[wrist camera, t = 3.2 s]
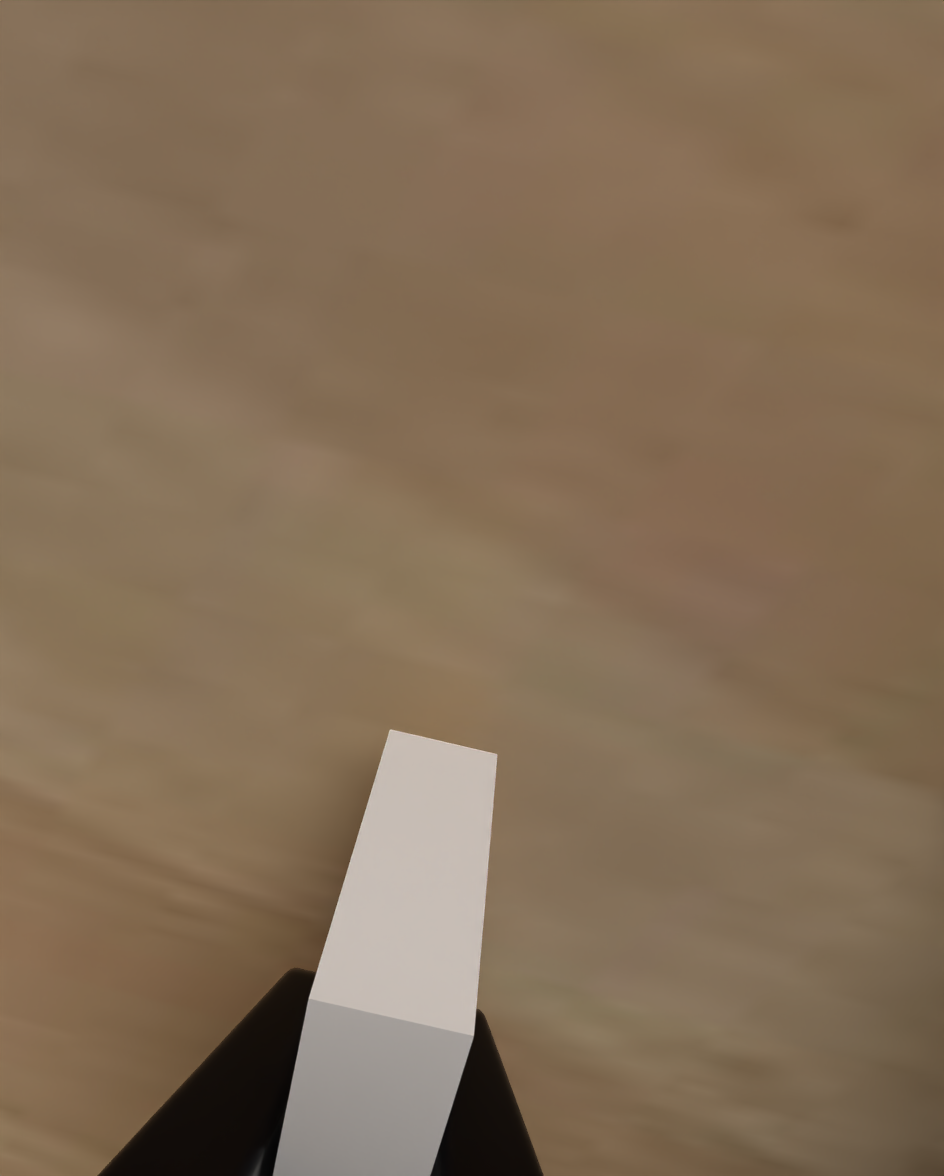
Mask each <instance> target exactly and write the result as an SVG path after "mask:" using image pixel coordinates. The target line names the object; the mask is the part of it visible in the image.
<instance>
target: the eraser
mask: <svg viewBox="0 0 944 1176" xmlns="http://www.w3.org/2000/svg"><path fill="white" fill-rule="evenodd" d="M497 755H498V754H495V753H491V752H486V751H482V750H478V749H473V748H469V747H465V746H461V745H456V744H452V743H448V742H443V741H439V740H435V739H430V738H426V737H422V736H417V735H413V734H409V733H404V732H400V731H396V730H391V729H390V731H389V734H388V737H387V741H386V744H385V747H384V751H383V754H382V757H381V761H380V764H379V767H378V770H377V774H376V777H375V780H374V784H373V787H372V790H371V794H370V797H369V800H368V804H367V807H366V810H365V814H364V817H363V820H362V823H361V827H360V830H359V833H358V837H357V840H356V843H355V847H354V850H353V853H352V857H351V860H350V863H349V867H348V870H347V873H346V876H345V880H344V883H343V886H342V890H341V893H340V896H339V900H338V903H337V906H336V910H335V913H334V916H333V920H332V923H331V926H330V929H329V933H328V936H327V939H326V943H325V946H324V949H323V953H322V956H321V959H320V963H319V966H318V969H317V973H316V976H315V979H314V982H313V986H312V989H311V992H310V996H309V999H308V1004H307V1009H306V1014H305V1019H304V1024H303V1029H302V1034H301V1039H300V1044H299V1049H298V1054H297V1058H296V1063H295V1068H294V1073H293V1078H292V1083H291V1088H290V1093H289V1098H288V1103H287V1108H286V1113H285V1118H284V1123H283V1127H282V1132H281V1137H280V1142H279V1147H278V1152H277V1157H276V1162H275V1167H274V1172H273V1176H430V1175H431V1172H432V1169H433V1165H434V1162H435V1159H436V1156H437V1153H438V1149H439V1146H440V1143H441V1140H442V1137H443V1133H444V1130H445V1127H446V1124H447V1121H448V1117H449V1114H450V1111H451V1108H452V1105H453V1101H454V1098H455V1095H456V1092H457V1089H458V1085H459V1082H460V1079H461V1076H462V1073H463V1069H464V1066H465V1063H466V1060H467V1057H468V1053H469V1050H470V1047H471V1044H472V1041H473V1037H474V1029H475V1017H476V1005H477V993H478V982H479V970H480V958H481V946H482V934H483V922H484V910H485V898H486V886H487V874H488V862H489V850H490V838H491V827H492V815H493V803H494V791H495V779H496V767H497Z"/></svg>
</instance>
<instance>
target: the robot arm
mask: <svg viewBox="0 0 944 1176" xmlns="http://www.w3.org/2000/svg"><path fill="white" fill-rule="evenodd" d="M316 973H317V972H313V971H309V970H304V969H300V968H293V969H290V970H289V971H288V972H286V973H285V974H284V975H283V977H282V978H281V979H280V980H279V981H278V982H277V983H276V984H275V985H274V986H273V987H272V988H271V989H270V991H269V992H268V993H267V994H266V995H265V996H264V997H263V998H262V999H261V1000H260V1001H259V1002H258V1003H257V1005H256V1006H255V1007H254V1008H253V1009H252V1010H251V1011H250V1012H249V1013H248V1014H247V1015H246V1016H245V1017H244V1019H243V1020H242V1021H241V1022H240V1023H239V1024H238V1025H237V1026H236V1027H235V1028H234V1029H233V1030H232V1031H231V1033H230V1034H229V1035H228V1036H227V1037H226V1038H225V1039H224V1040H223V1041H222V1042H221V1043H220V1044H219V1045H218V1047H217V1048H216V1049H215V1050H214V1051H213V1052H212V1053H211V1054H210V1055H209V1056H208V1057H207V1058H206V1059H205V1061H204V1062H203V1063H202V1064H201V1065H200V1066H199V1067H198V1068H197V1069H196V1070H195V1071H194V1072H193V1073H192V1075H191V1076H190V1077H189V1078H188V1079H187V1080H186V1081H185V1082H184V1083H183V1084H182V1085H181V1086H180V1087H179V1088H178V1090H177V1091H176V1092H175V1093H174V1094H173V1095H172V1096H171V1097H170V1098H169V1099H168V1100H167V1101H166V1102H165V1104H164V1105H163V1106H162V1107H161V1108H160V1109H159V1110H158V1111H157V1112H156V1113H155V1114H154V1115H153V1116H152V1118H151V1119H150V1120H149V1121H148V1122H147V1123H146V1124H145V1125H144V1126H143V1127H142V1128H141V1129H140V1130H139V1132H138V1133H137V1134H136V1135H135V1136H134V1137H133V1138H132V1139H131V1140H130V1141H129V1142H128V1143H127V1144H126V1146H125V1147H124V1148H123V1149H122V1150H121V1151H120V1152H119V1153H118V1154H117V1155H116V1156H115V1157H114V1158H113V1160H112V1161H111V1162H110V1163H109V1164H108V1165H107V1166H106V1167H105V1168H104V1169H103V1170H102V1171H101V1172H100V1174H99V1175H98V1176H273V1172H274V1167H275V1162H276V1157H277V1152H278V1147H279V1142H280V1137H281V1132H282V1127H283V1123H284V1118H285V1113H286V1108H287V1103H288V1098H289V1093H290V1088H291V1083H292V1078H293V1073H294V1068H295V1063H296V1058H297V1054H298V1049H299V1044H300V1039H301V1034H302V1029H303V1024H304V1019H305V1014H306V1009H307V1004H308V999H309V996H310V992H311V989H312V986H313V982H314V979H315V976H316ZM430 1176H544V1175H543V1173H542V1170H541V1167H540V1164H539V1162H538V1159H537V1156H536V1154H535V1151H534V1148H533V1145H532V1143H531V1140H530V1137H529V1134H528V1132H527V1129H526V1126H525V1124H524V1121H523V1118H522V1115H521V1113H520V1110H519V1107H518V1105H517V1102H516V1099H515V1096H514V1094H513V1091H512V1088H511V1086H510V1083H509V1080H508V1077H507V1075H506V1072H505V1069H504V1066H503V1064H502V1061H501V1058H500V1056H499V1053H498V1050H497V1047H496V1045H495V1042H494V1039H493V1037H492V1034H491V1031H490V1028H489V1026H488V1023H487V1020H486V1018H485V1016H484V1014H483V1013H482V1012H481V1011H480V1010H479V1009H476V1017H475V1029H474V1037H473V1041H472V1044H471V1047H470V1050H469V1053H468V1057H467V1060H466V1063H465V1066H464V1069H463V1073H462V1076H461V1079H460V1082H459V1085H458V1089H457V1092H456V1095H455V1098H454V1101H453V1105H452V1108H451V1111H450V1114H449V1117H448V1121H447V1124H446V1127H445V1130H444V1133H443V1137H442V1140H441V1143H440V1146H439V1149H438V1153H437V1156H436V1159H435V1162H434V1165H433V1169H432V1172H431V1175H430Z"/></svg>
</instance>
